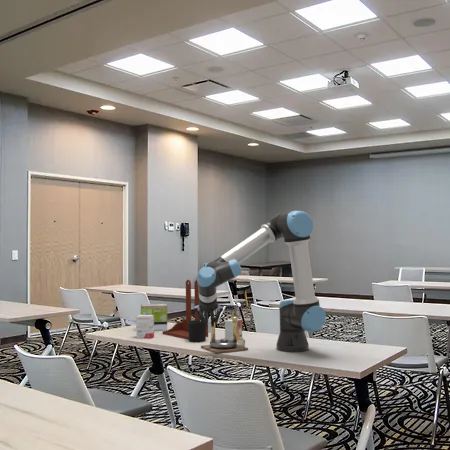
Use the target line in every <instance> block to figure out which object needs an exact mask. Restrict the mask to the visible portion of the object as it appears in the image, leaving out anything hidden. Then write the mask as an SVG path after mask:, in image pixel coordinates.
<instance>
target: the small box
mask: <svg viewBox="0 0 450 450" xmlns="http://www.w3.org/2000/svg"><path fill="white" fill-rule="evenodd" d="M241 337H242V338H243V319H241V318H238V321H237V342H238V340H239V338H241ZM224 338H226V339H228V340H233V321H232V318H231V319H225V320H224Z"/></svg>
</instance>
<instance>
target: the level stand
mask: <svg viewBox="0 0 450 450" xmlns="http://www.w3.org/2000/svg"><path fill="white" fill-rule="evenodd" d="M200 349H203V350H205V351H208V352H210V353H213V354H216V355H219V354H220V355H221V354H222V355H223V354H230V353H237V352H245V351H246V352H247V351H249V347H246V339H245V338H243V336H242V337H241V338H239V340H238V341H237V347H234V348H224V349H222V348H212V347H210V344H205V345H200Z"/></svg>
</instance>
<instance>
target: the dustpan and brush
mask: <svg viewBox="0 0 450 450" xmlns="http://www.w3.org/2000/svg"><path fill="white" fill-rule="evenodd" d="M193 287H194V305H199V303H200V302H199V289H198V282H197V279H196V280H195V281H194V286H193ZM191 320H192V283H191V280H190V279H186V281H185V318H182V320H181V321H180V322H179V321H178V322H177V323H175V324H174V325H173V326H172V327H171V328H170V329H167V331H161V333H162V335H166V336H170V337H174V338H179V339H183V340H187V341H189V333H188V321H191ZM194 320H199V321H200V319H199V316H198V314H197V312H195V311H194ZM208 337H209V333H208V327H206V338H208Z"/></svg>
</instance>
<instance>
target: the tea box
mask: <svg viewBox="0 0 450 450" xmlns="http://www.w3.org/2000/svg"><path fill="white" fill-rule="evenodd" d="M140 315H154V332H155V331H157V332H159V331H161V332H162V331H167V330H168V304H166V303H141V304H140Z"/></svg>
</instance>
